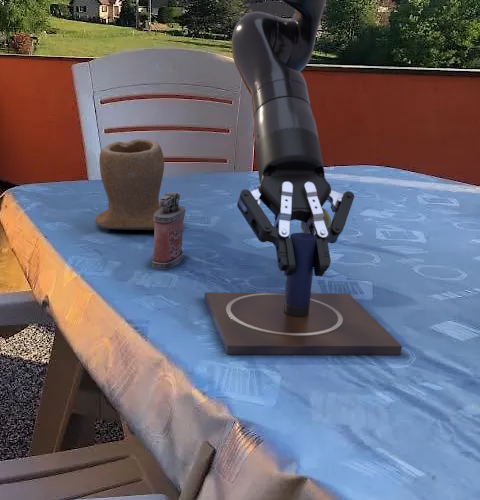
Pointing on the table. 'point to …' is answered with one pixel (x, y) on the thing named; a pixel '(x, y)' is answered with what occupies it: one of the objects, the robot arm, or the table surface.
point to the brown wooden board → (297, 326)
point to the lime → (326, 220)
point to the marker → (300, 275)
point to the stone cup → (131, 184)
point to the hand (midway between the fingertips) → (305, 272)
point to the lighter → (168, 232)
